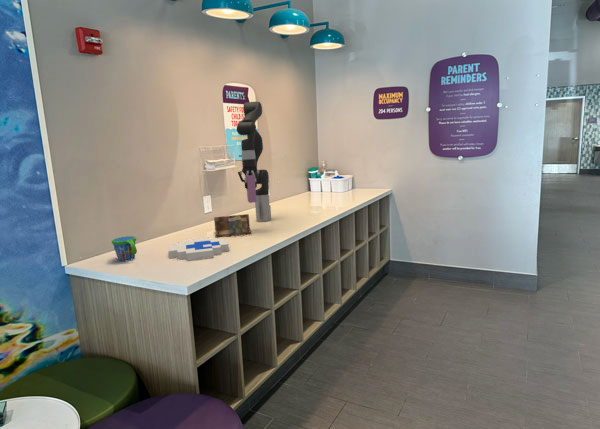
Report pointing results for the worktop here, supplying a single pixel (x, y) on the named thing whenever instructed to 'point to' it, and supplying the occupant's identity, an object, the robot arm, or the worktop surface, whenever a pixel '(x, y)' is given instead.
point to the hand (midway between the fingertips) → (250, 188)
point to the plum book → (251, 189)
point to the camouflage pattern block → (232, 225)
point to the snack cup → (125, 247)
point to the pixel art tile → (198, 248)
